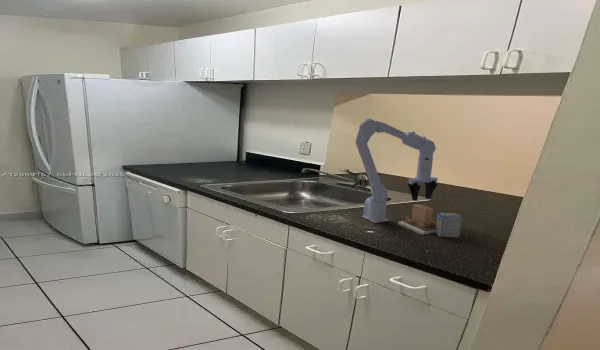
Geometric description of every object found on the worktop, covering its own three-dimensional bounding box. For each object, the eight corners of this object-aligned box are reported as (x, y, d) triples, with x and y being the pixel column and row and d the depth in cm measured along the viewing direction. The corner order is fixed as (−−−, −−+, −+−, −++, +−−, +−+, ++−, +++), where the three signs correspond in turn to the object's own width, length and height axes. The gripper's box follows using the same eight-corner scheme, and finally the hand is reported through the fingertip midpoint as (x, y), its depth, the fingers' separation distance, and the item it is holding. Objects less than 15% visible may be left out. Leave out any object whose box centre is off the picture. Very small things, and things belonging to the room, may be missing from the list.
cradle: (397, 223, 149) (398, 217, 149) (418, 220, 155) (419, 214, 154) (422, 234, 137) (423, 227, 137) (444, 231, 142) (445, 224, 142)
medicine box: (454, 233, 140) (456, 212, 138) (459, 237, 136) (462, 216, 134) (434, 233, 140) (437, 212, 138) (439, 237, 135) (442, 215, 134)
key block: (423, 228, 142) (425, 209, 140) (411, 223, 148) (412, 204, 146) (430, 227, 144) (432, 208, 142) (418, 222, 150) (420, 204, 148)
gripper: (418, 170, 141) (415, 203, 143) (444, 169, 147) (440, 200, 150) (406, 167, 147) (403, 199, 150) (431, 166, 153) (428, 196, 156)
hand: (421, 199), depth 150 cm, fingers open, 7 cm apart
